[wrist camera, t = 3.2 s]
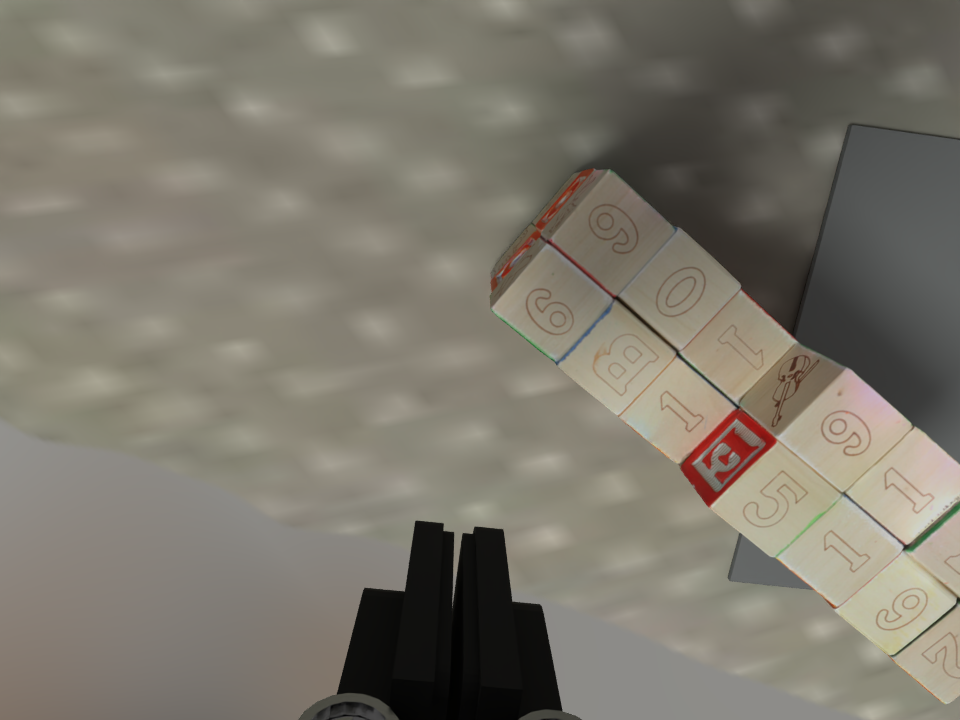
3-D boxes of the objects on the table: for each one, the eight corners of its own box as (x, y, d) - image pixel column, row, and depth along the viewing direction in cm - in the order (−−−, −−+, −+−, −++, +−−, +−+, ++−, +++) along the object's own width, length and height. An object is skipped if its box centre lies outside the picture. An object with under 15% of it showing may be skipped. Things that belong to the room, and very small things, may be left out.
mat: (1136, 165, 29) (1142, 165, 29) (966, 603, 35) (970, 606, 35) (848, 125, 28) (852, 124, 28) (727, 577, 35) (730, 581, 34)
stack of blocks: (485, 272, 30) (486, 325, 18) (573, 169, 29) (635, 154, 17) (785, 529, 34) (951, 714, 22) (876, 447, 32) (1104, 597, 20)
